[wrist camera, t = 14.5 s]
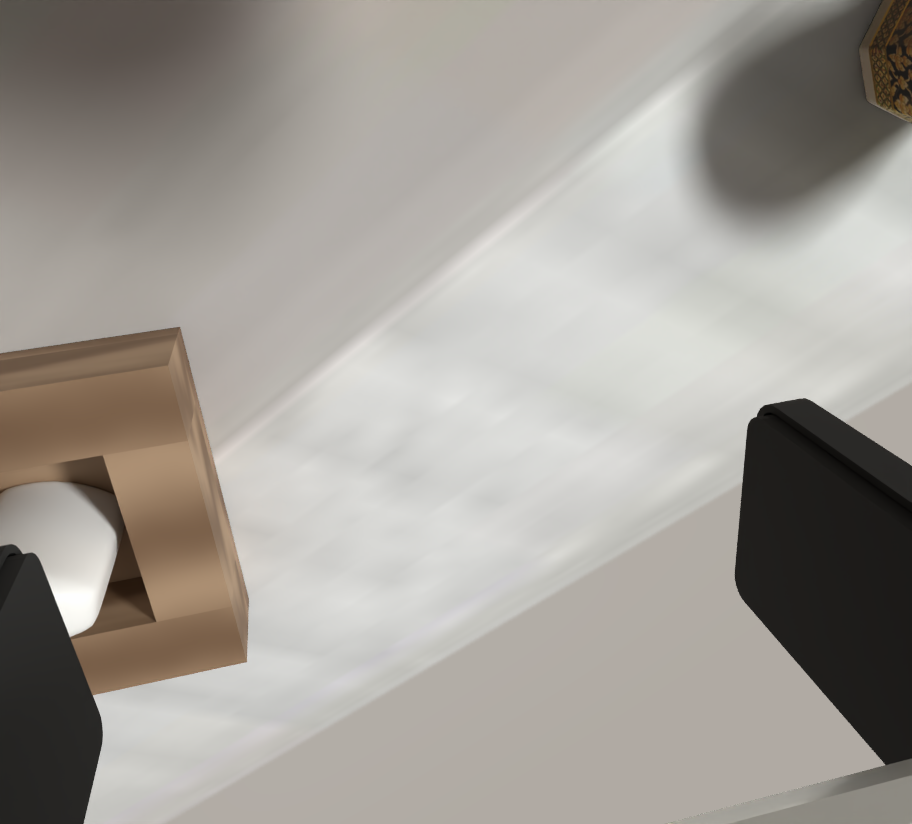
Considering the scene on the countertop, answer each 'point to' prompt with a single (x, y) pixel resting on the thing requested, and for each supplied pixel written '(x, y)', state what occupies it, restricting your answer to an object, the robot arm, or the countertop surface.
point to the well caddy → (134, 498)
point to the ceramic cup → (889, 59)
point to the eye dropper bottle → (66, 541)
